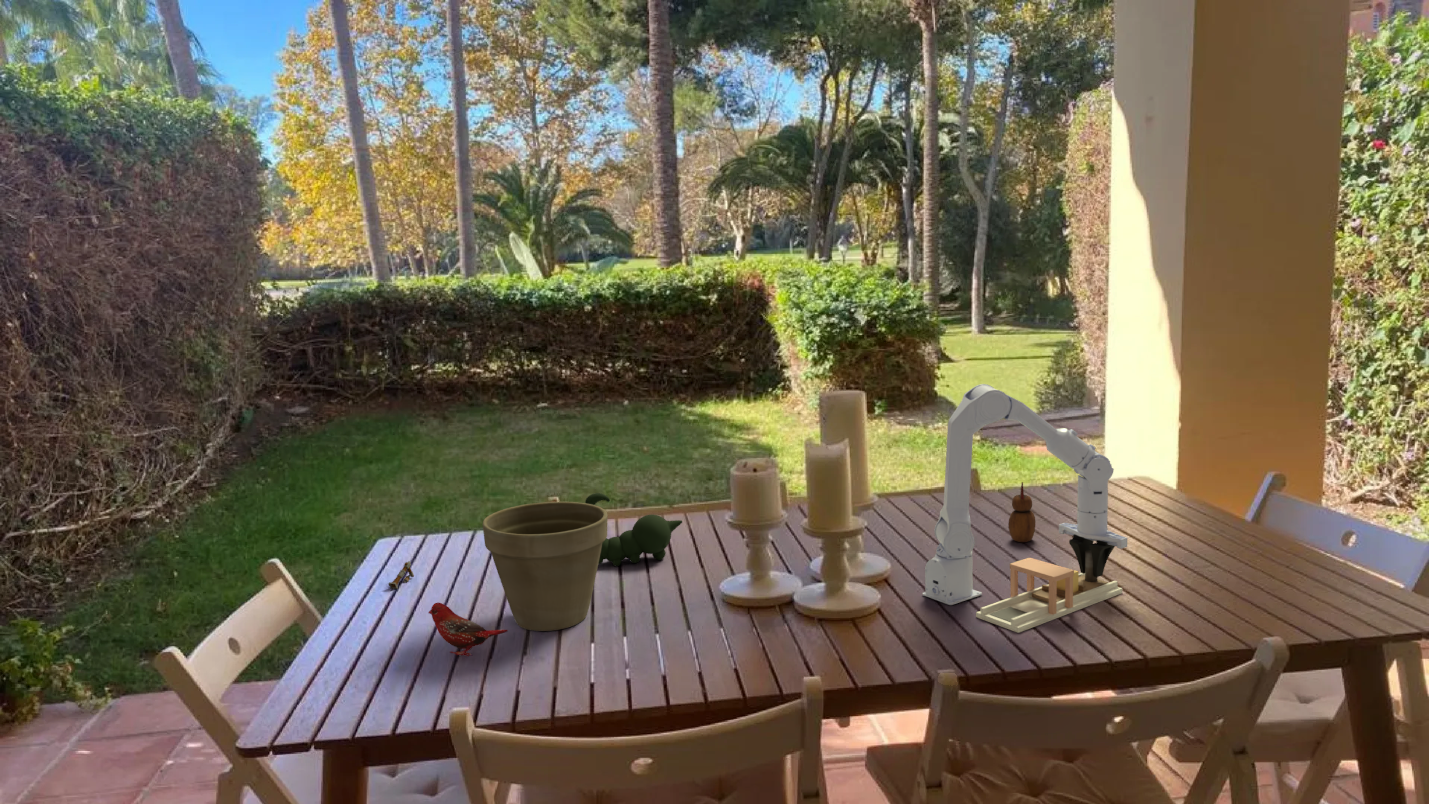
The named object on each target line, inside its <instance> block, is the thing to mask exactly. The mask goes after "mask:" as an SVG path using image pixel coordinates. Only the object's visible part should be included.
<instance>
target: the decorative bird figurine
mask: <svg viewBox="0 0 1429 804" xmlns="http://www.w3.org/2000/svg"><path fill="white" fill-rule="evenodd" d="M428 614H430V615H431V618H432V621H433V622H434V625H435V627H436V630H437V632H438V634H439V636H441V638H442V639H443V640H444V641H445V642H446V643H448V644H449V645H451V646H453V647H454V648H456V649H461V650H462V649H463V650H462V651H449V653H451V654H455V655H456V656H458V655H461V656H466V657H470V656H471V657H473V654H472V653H470V652H469V651H470V650H471V649H472V648H474V647H478V646H481V645H483V644H484V643H485V642H486V641H487V640H488V639H490V638H491V637H494V636H497V635H501V634H505V633H507V632H509V629H491V630H487V629H486V628H485V627H483V626H481V625H480V624H479V623H477V622H474V621H472V620H470V619H467V618H466V617H465V618H464V617H462V616H460V615H458V614H456V613H455V612H454V611H453V610H452V609H451V608H450V607H449V606H447V605H446V604H444V603H442V602H435V603H433V605H432V606H431V608H430V610H429V611H428Z"/></svg>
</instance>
